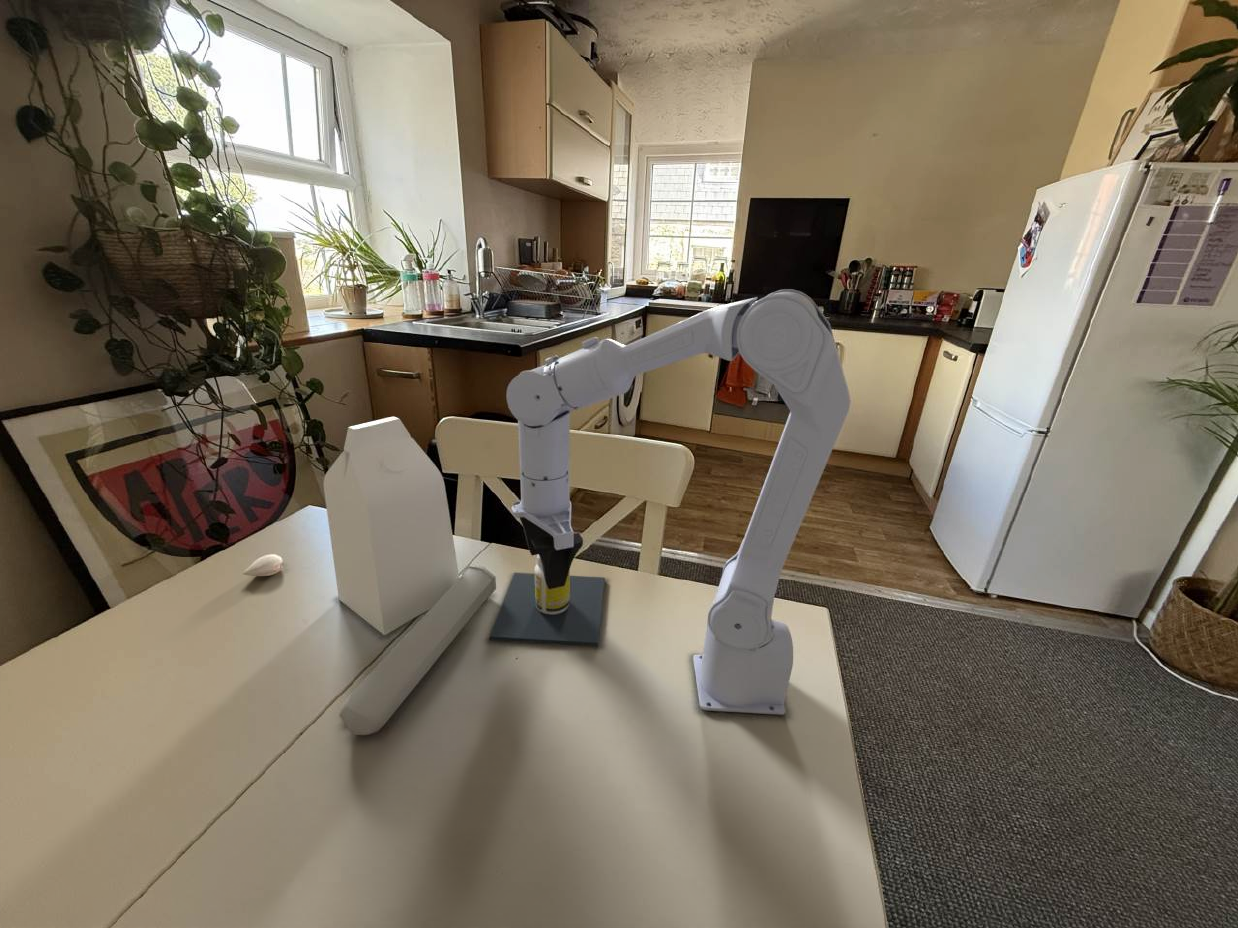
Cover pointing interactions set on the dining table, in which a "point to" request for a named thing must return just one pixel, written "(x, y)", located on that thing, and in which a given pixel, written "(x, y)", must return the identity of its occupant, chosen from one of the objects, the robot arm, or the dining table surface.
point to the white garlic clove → (265, 566)
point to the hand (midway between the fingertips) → (546, 568)
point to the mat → (568, 627)
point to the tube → (415, 653)
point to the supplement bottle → (550, 593)
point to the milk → (388, 526)
